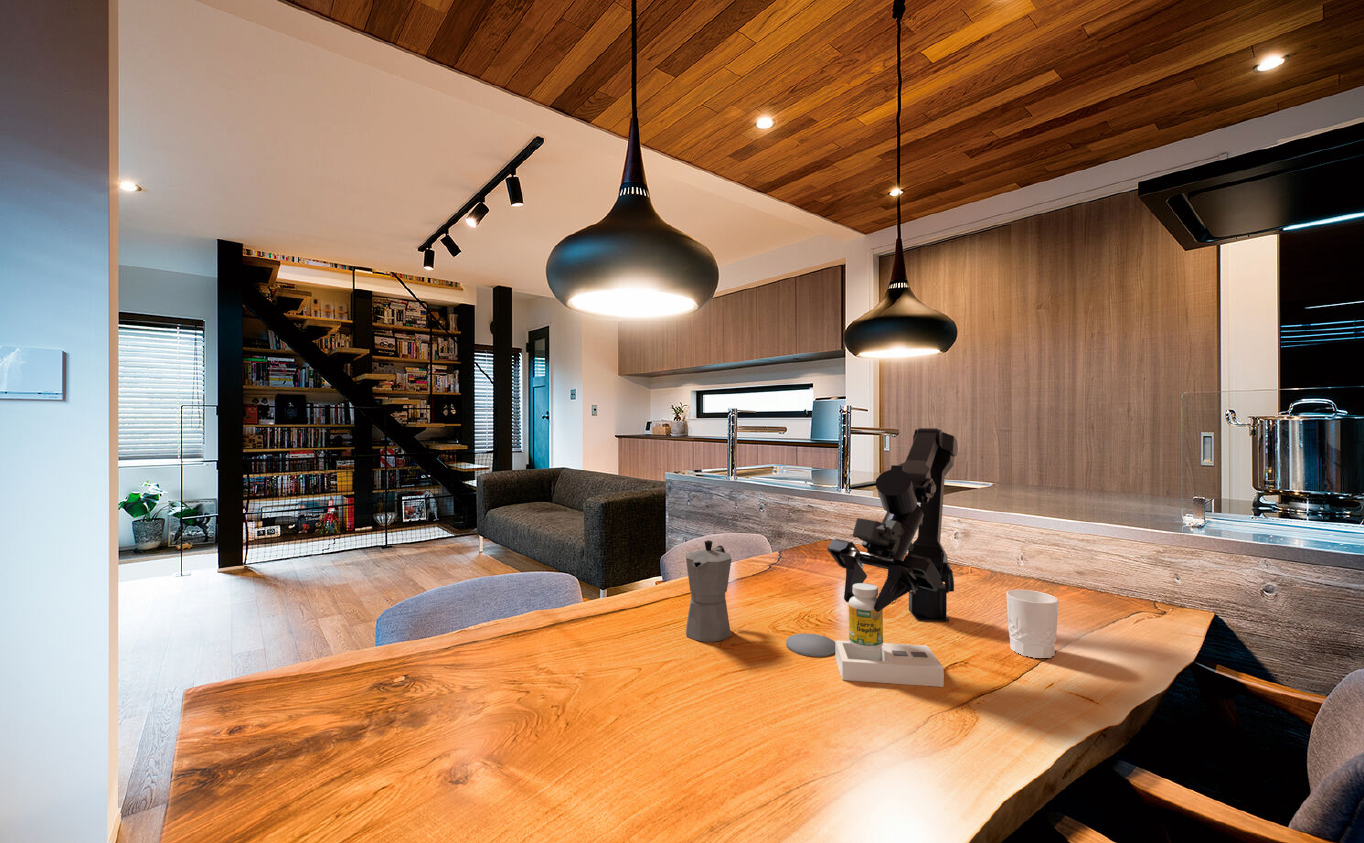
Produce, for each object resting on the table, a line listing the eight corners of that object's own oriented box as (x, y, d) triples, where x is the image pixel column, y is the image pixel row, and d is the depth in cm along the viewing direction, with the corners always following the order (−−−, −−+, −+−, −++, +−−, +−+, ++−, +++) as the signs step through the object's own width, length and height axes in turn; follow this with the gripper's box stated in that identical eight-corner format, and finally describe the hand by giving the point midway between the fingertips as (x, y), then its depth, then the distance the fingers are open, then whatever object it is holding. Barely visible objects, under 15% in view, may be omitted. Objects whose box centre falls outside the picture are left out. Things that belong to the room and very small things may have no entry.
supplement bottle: (877, 637, 94) (877, 581, 94) (887, 651, 89) (887, 591, 89) (845, 637, 94) (845, 581, 94) (853, 650, 89) (853, 591, 89)
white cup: (1017, 639, 105) (1017, 586, 105) (1065, 653, 98) (1065, 597, 98) (998, 649, 100) (998, 594, 100) (1047, 665, 94) (1047, 606, 94)
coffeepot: (720, 650, 99) (720, 550, 99) (672, 641, 103) (672, 545, 103) (744, 621, 114) (744, 534, 114) (701, 615, 117) (702, 530, 117)
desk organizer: (927, 663, 94) (927, 644, 94) (943, 686, 86) (943, 666, 86) (835, 657, 96) (835, 639, 96) (842, 680, 88) (842, 660, 88)
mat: (833, 638, 105) (833, 635, 105) (840, 658, 96) (840, 654, 96) (785, 635, 106) (785, 632, 106) (787, 655, 97) (787, 651, 97)
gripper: (833, 494, 101) (793, 564, 95) (932, 507, 87) (893, 592, 80) (858, 531, 106) (822, 601, 100) (956, 550, 91) (921, 633, 85)
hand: (860, 605), depth 91 cm, fingers closed on supplement bottle, 5 cm apart
